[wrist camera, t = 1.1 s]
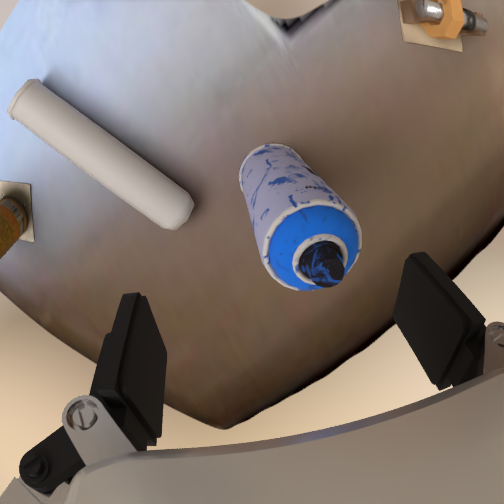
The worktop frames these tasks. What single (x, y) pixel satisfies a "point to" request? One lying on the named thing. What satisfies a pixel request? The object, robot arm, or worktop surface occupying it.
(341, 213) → the aerosol can
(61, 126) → the tube
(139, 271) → the worktop surface
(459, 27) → the o ring
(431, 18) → the base board
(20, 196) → the condiment
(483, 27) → the pipe
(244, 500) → the robot arm
